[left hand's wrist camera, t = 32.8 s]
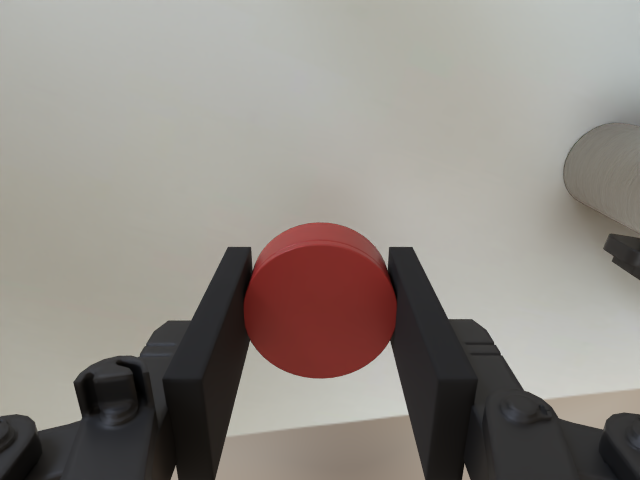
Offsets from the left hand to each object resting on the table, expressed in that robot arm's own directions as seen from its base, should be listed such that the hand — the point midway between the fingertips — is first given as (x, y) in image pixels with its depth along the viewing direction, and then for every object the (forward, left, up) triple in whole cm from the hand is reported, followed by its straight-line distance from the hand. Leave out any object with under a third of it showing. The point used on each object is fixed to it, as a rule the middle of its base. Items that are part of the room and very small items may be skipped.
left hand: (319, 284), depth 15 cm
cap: (0, 0, +2) cm, 2 cm away
